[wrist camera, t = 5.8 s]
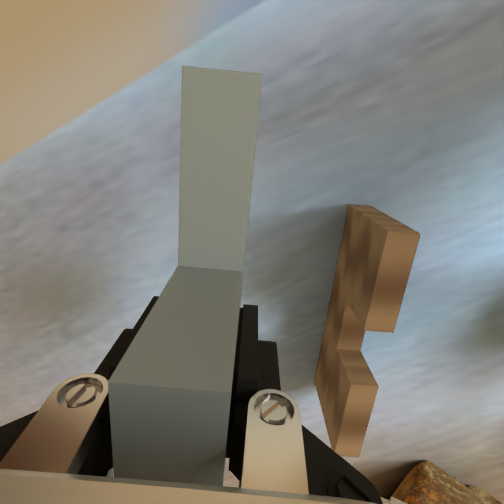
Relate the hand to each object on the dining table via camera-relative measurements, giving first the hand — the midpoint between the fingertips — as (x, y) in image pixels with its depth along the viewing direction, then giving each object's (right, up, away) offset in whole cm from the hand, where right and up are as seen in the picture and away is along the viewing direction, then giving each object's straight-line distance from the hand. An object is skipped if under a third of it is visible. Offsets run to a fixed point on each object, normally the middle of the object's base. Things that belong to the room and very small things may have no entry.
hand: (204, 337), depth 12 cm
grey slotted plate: (0, +4, +10) cm, 11 cm away
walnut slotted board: (+12, -2, +24) cm, 27 cm away
